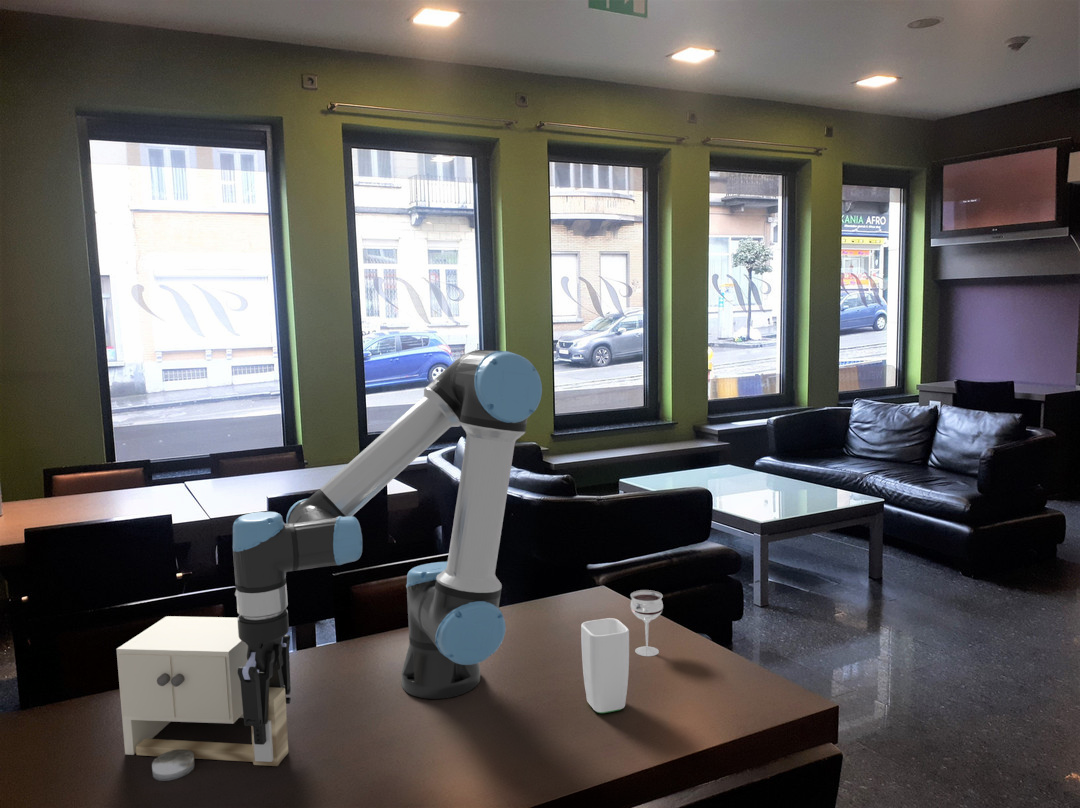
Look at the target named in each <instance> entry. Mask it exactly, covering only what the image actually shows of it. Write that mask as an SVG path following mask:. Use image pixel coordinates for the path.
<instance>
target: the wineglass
mask: <svg viewBox="0 0 1080 808" xmlns="http://www.w3.org/2000/svg"><path fill="white" fill-rule="evenodd" d="M662 598H664V597H663V594H662V593H661V592H659V591H655V590H651V589H650V590H649V589H640V590H636V591H635V590H634V591H633V592H631V593H630V599H631V600H630V605H629V606H630V610H631V613H632V614H633V615H634V616H635V617H636V618H637V619H639V620H642V621H643V623H644V634H645V645H644V646H638V647H637V648H635V650H634V653H636V654H637V655H639V656H642V657H653V656H657V655H659V654H660V651H659V649H658V648H657V647H653V646H649V625H650V624H649V623H650V622H651V621H653V620H655V619H657V618H658V617H659V616H660V615H661V614H662V613H663V609H664V604H663V600H662Z"/></svg>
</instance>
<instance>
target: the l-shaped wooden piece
mask: <svg viewBox="0 0 1080 808" xmlns="http://www.w3.org/2000/svg"><path fill="white" fill-rule="evenodd" d="M286 697H287V695H286V696H285V688H276V687H269V707H268V720H271V726H272V743H273V761H272V762H263V761H255V753H254V736H253V726H250V727H251V728H250V729H251V730H250V731H251V743H252V744H249V743H237V742H235V743H234V742H233V743H231V742H214V741H197V740H196V741H195V740H179V739H178V740H177V739H159V738H152V739H144V740H143V741H142V742H140V743H139V744H138V745H137V746H136V753H135V754H136V756H145V757H147V756H149V757H158V756H160V755H162V754H164V753H166V752H169V751H172V750H178V749H187V750H190V751H192V752H193V753H194V759H196V760H197V759H199V760H201V759H202V760H214V761H215V760H217V761H233V762H235V761H236V762H248V763H249V762H252V763H253V765H254V766H265V767H267V766H272V767H278V766H279V765H280V764H281V762H282V761H283V760H284V759H285V757H286V756H287V755H288V754H289V738H288V737H289V735H288V734H289V733H288V720H287V719H288V717H287V704H286Z"/></svg>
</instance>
